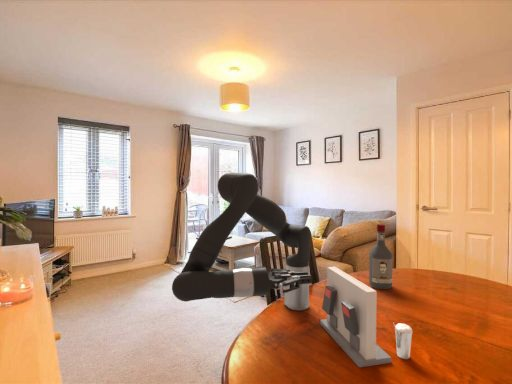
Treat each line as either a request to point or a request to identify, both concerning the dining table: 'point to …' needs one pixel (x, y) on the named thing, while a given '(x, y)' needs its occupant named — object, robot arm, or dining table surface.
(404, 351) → the milkshake
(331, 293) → the rocker outlet
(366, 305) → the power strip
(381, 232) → the liquor
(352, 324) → the rocker outlet
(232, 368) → the dining table surface
